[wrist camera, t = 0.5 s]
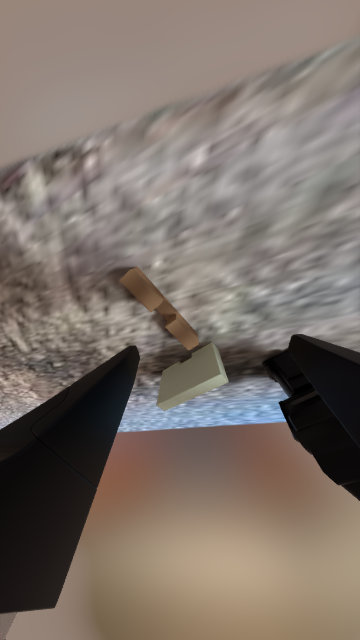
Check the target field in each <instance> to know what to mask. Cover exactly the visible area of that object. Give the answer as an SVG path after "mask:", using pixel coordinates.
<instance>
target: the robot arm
mask: <svg viewBox="0 0 360 640" xmlns="http://www.w3.org/2000/svg"><path fill="white" fill-rule="evenodd" d="M139 360H140V355H139V352H138V349H137V347H136V346H135V345H134V346H128V347H127V348H125V349H124V350H122V351H121V352H119V353H118V354H116V355H115V356H113V357H112V358H110V359H109V360H107V361H106V362H104V363H103V364H101V365H100V366H98V367H97V368H96V369H94V370H93V371H91V372H90V373H88V374H87V375H85V376H84V377H82V378H81V379H79V380H78V381H76V382H75V383H73V384H72V385H71V386H69V387H67V388H66V389H64V390H63V391H61V392H60V393H58V394H57V395H55V396H54V397H52V398H51V399H49V400H48V401H46V402H44V403H43V404H41V405H40V406H38V407H36V408H35V409H33V410H32V411H30V412H28V413H27V414H25V415H23V416H22V417H20V418H19V419H17V420H15V421H14V422H12V423H10V424H9V425H7V426H5V427H4V428H2V429H1V430H0V640H5V637H6V635H7V633H8V631H9V629H10V627H11V624H12V623H13V620H14V618H15V616H16V614H17V612H23V611H34V610H43V609H52V608H55V606H56V604H57V601H58V599H59V596H60V593H61V591H62V588H63V585H64V582H65V579H66V576H67V573H68V571H69V568H70V565H71V562H72V559H73V556H74V553H75V550H76V548H77V545H78V542H79V539H80V536H81V533H82V531H83V528H84V525H85V522H86V519H87V516H88V513H89V511H90V508H91V505H92V502H93V499H94V496H95V493H96V491H97V487H98V484H99V482H100V479H101V476H102V473H103V470H104V467H105V465H106V461H107V459H108V456H109V453H110V450H111V447H112V445H113V442H114V439H115V436H116V433H117V430H118V427H119V425H120V422H121V419H122V416H123V413H124V410H125V408H126V405H127V402H128V399H129V396H130V393H131V390H132V388H133V385H134V381H135V377H136V373H137V369H138V365H139ZM263 366H264V367H265V368H266V370H267V371H268V372H269V374H270V375H271V377H272V378H273V379H274V381H275V382H278V383H279V384H280V386H281V387H282V389H283V390H284V392H285V393H286V394H287V396H288V397H289V398H288V399H286V400H284V401H280V402H279V405H280V407H281V410H282V413H283V415H284V417H285V419H286V421H287V423H288V426H289V428H290V430H291V432H292V435H293V437H294V439H295V440H296V441H298V442H300V443H301V445H302V446H303V447H304V448H305V449H306V450H307V451H308V452H309V453H310V454H312V455H313V456H314V458H315V459H316V461H317V463H318V464H319V466H320V468H321V469H322V471H323V472H324V473H325V474H326V475H327V476H328V477H329V478H330V479H332V480H333V481H334V482H335V483H336V484H337V485H341V486H342V487H344V488H345V489H346V490H347V491H349V492H350V493H351V494H352V495H353V496H354V497H356V498H357V499H358V500H359V501H360V353H359V352H356V351H353V350H350V349H347V348H344V347H341V346H337V345H334V344H331V343H328V342H325V341H322V340H319V339H316V338H313V337H310V336H306V335H303V334H294V335H292V336H291V340H290V343H289V351H286V352H284V353H282V354H280V355H278V356H276V357H273V358H271V359H269V360H267V361H265V362H263Z"/></svg>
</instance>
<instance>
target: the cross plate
mask: <svg viewBox="0 0 360 640" xmlns="http://www.w3.org/2000/svg"><path fill="white" fill-rule="evenodd" d="M228 382H229V381H228V378H227V375H226V372H225V369H224V366H223V363H222V360H221V357H220V354H219V351H218V348H217V347H216V346H215V345H214V344H213V343H212V342H211V343H209V344H207V345H206V346H204V347H202V348H201V349H199V350H197V351H196V352H194V353H192V358H190V359H188V360H187V361H185V362H183V363H181V362H180V361H178V362H177V363H175V364H173V365H172V366H170V367H168V368H167V369H165V370H163V373H162V378H161V383H160V388H159V394H158V399H157V404H156V405H157V406H158V407H160V408H161V409H162V410H164V411H166V410H168V409H170V408H173V407H175V406H177V405H179V404H181V403H184V402H186V401H188V400H190V399H192V398H195V397H197V396H199V395H201V394H203V393H206V392H208V391H210V390H212V389H214V388H217V387H219V386H221V385H223V384H226V383H228Z"/></svg>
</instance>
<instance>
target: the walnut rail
mask: <svg viewBox="0 0 360 640" xmlns="http://www.w3.org/2000/svg"><path fill="white" fill-rule="evenodd" d="M119 281H120V282H121V283H122V284H123V285H124V286H125V287H126V288H127V289H128V290H129V291H130V292H131V293H132V294H133V295H134V296H135V297H136V298H137V299H138V300H139V301H140V302H141V303H142V304H143V305H144V306H145V307H146V308H147V309H148V310H149V311H150V312H152V311H153V310H154V309H156V310H157V311H158V312H159V313H160V314H161V315H162V316H163V317H164V318H165V319H166V320H167V323H166V326H165V327H166V328H167V329H168V330H169V331H170V332H171V333H172V334H173V335H174V336H175V337H176V338H177V339H178V340H179V341H180V342H181V343H182V345H183V346H184V347H185V348H186V349H187V350H188V351H189V350H191V349H192V348H194V347H196V346H197V345H199V342H198V334H197V333H196V332H195V330H194V329H193V328H192V327H191V326H190V325H189V324H188V323H187V322H186V320H185V319H184V318H183V317H182V316H181V315H180V314H179V313H178V311H177V310H176V309H175V308H174V307H173V306H172V305H171V304H170V303H169V301H168V300H167V299H166V298H165V297H164V296H163V295H162V294H161V292H160V291H159V290H158V289H157V288H156V287H155V286H154V285H153V284H152V282H151V281H150V280H149V279H148V278H147V277H146V276H145V275H144V273H143V272H142V271H141V270H140V269H139V268H138V267H136V268H133V269H130V270H129V271H128V272H127V273H126V274H125V275H124V276H123V277H122V278H121V279H120V280H119Z"/></svg>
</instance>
